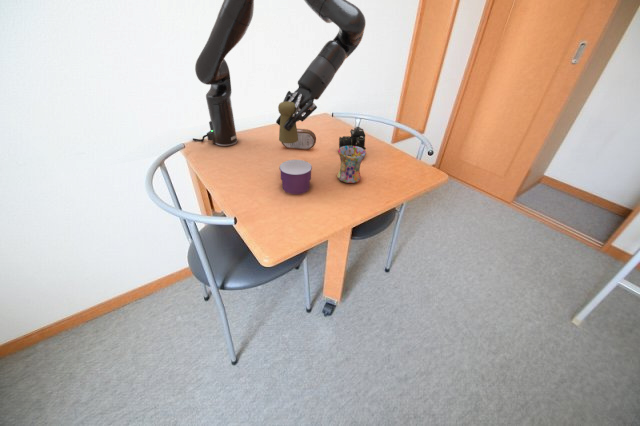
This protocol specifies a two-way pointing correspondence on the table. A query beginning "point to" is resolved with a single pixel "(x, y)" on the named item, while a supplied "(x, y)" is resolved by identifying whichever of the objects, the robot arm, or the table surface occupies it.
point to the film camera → (353, 139)
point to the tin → (303, 140)
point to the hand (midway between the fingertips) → (282, 126)
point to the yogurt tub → (295, 176)
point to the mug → (350, 163)
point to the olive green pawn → (286, 111)
